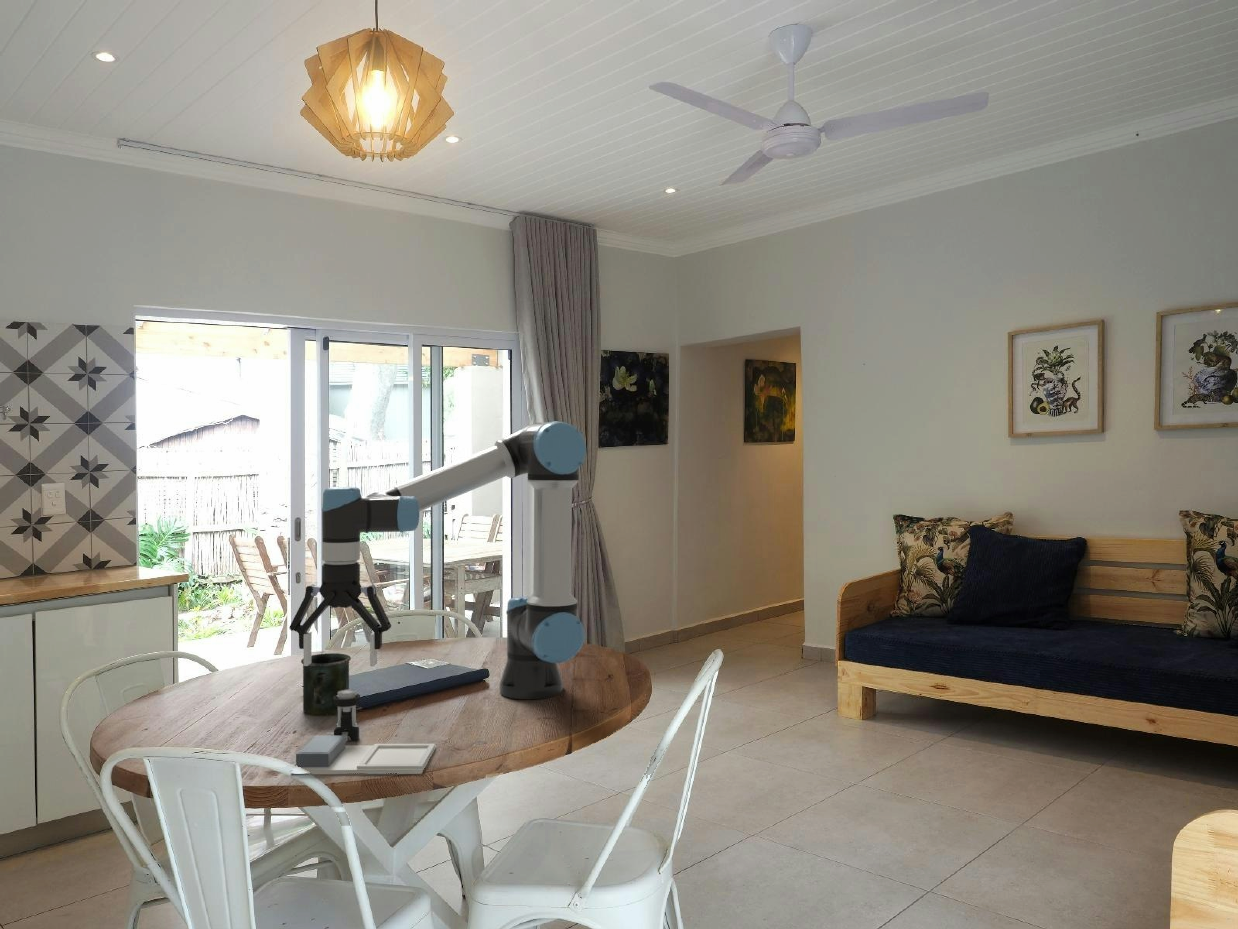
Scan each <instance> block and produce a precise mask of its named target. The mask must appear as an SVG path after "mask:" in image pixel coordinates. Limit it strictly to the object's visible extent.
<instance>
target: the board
mask: <svg viewBox="0 0 1238 929" xmlns="http://www.w3.org/2000/svg"><path fill="white" fill-rule="evenodd" d="M436 747H437V745H436V743H374V744H373V745H345V749H344V750H343V751H342V753H341V754H340V755H339V756H338V757H337V758H336V759H335V760H334V762H333V763H332V764H331V765H330V766H329V767H301V768H303V769H305V770H307V771H309V772H310V773H313V774H312V775H360V774H359V773H365V774H364V775H423V772H424V771H425V769H424V768H426V767H427V765H428V763H429V762H428V761H430V760H431V758H432V755H433V754H434V752H435V750H436ZM430 757H431V758H430ZM429 759H430V760H429ZM423 770H424V771H423ZM347 773H348V774H347ZM349 773H350V774H349ZM351 773H352V774H351ZM353 773H354V774H353ZM355 773H356V774H355ZM357 773H358V774H357ZM366 773H367V774H366ZM386 773H387V774H386ZM388 773H389V774H388ZM390 773H392V774H390ZM393 773H394V774H393ZM395 773H397V774H395Z"/></svg>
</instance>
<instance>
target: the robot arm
mask: <svg viewBox="0 0 1238 929" xmlns="http://www.w3.org/2000/svg"><path fill="white" fill-rule="evenodd" d="M586 445H587V444H586V440H585V438H584V436H583V434H582V433H581V432H580V431H579V429H578V428H577V427H575V426H574V425H572V424H570V423H567V422H565V421H564V422H563V421H557V420H555V421H547V422H546V421H545V422H535V423H533V424H532V423H531V424H530V425H527V426H525V427H523V428H522V429H519V430H517V431H516V432H513V433H512V434H509V435H508V436H505V437H503V438H500V439H497V440H496V441H495V443H494V445H493V446H492V447H489V448H486V449H484V450H482V451H479V452H477V453H474V454H471V455H469V456H467V457H464V458H462V459H459V460H457V461H454V462H452V463H450V464H447V465H445V466H442V467H439V468H437V469H435V470H432V471H430V472H427V473H425V474H422V475H419V476H416V477H414V478H412V479H410V480H407V481H404V482H402V483H399V484H398V485H394V486H393V487H389V488H387V489H385V490H382V491H380V492H373V493H370V494H367V495H366V496H362V493H361V490H360V488H359V487H356V486H355V487H352V486H351V487H350V486H349V487H348V486H336V487H335V486H333V487H331V486H330V487H327V488H325V489H324V491H323V494H322V505H321V506H322V507H321V537H322V538H321V543H322V544H321V560H322V561H323V562H324V563H322V565H321V585H320V586H317V585H316V584H313V583H312V584H309V585H307V586H306V588H305V594H304V597H303V599H302V602H301V603H300V606H299V607H298V610H297V611H296V613H295V616H294V617H293V619H292V621H291V624H290V625H289V630H290V631H292V632H293V631H294V632H297V633H298V648H299V650H303V658H304V661H303V664H302V667H303V666H308V665H309V664H311V656H312V633H313V632H312V631H309V629H310V628H311V627H312V626H313V624H314V623H315V622H316V621H317V620H318V619H319V618H320V617H321V615H322V614H324V611H326V609H327V608H328V607H331V608H332V609H333V608H334V609H335V608H343V609H347V608H350V607H351V608H352V609H353V611H355V612H356V613H357V614H358V616H360V618H361V619H362V620H363V621H364V623H365V624H366V625H367V626H368V627H369V628H370V629H371V631H372V633H370V635H369V639H370V640H369V643H370V644H369V646H370V647H369V648H370V649H369V652H370V653H369V667H375V666H377V664H378V650H380V649H381V648H382V646H383V633H384V632H387V631H389V630H390V629H391V628H392V624H391V621H390V620H389V618H388V616H387V614H386V611H385V610H384V608H383V606H382V603H381V602H380V600H379V598H378V596H377V588H376V585H375V584H371V585H367V586H362V585H361V564H360V563H359V562H358V561H359V560H361V533H365V534H366V533H367V534H368V533H398V532H400V533H404V532H414V531H416V530H417V529H418V526H419V522H420V512H422V511H424V510H427V509H429V508H432V507H434V506H437V505H439V504H442V503H444V502H447V501H449V500H451V499H453V498H454V499H455V498H456V497H459V496H461V495H463V494H465V493H468V492H471V491H474V490H475V489H479V488H480V487H483V486H487V485H488V484H491V483H493V482H495V481H498V480H500V479H504V478H505V477H507V478H510V479H514V478H517V477H518V476H521V475H524V474H525V475H526V474H527V482H528V483H529V484H530V485H531V487H533V492H534V494H533V495H534V496H533V571H532V572H533V574H532V575H533V578H532V579H533V583H532V584H533V585H532V588H533V589H532V590H533V591H532V594H531V595H530V596H521V597H518V596H517V597H512V598H510V599H509V600H508V601H507V606H506V607H507V609H506V611H505V612H506V620H507V621H506V635H507V636H506V638H507V639H506V640H507V641H506V644H507V645H506V647H507V648H506V650H507V653H506V654H507V658H506V662H505V666H504V668H503V672H502V675H501V678H500V682H499V693H500V694H501V695H502V696H504V697H507V698H509V699H514V700H515V699H517V700H541V699H543V700H544V699H549V698H552V697H556V696H559V695H560V694H562V693H563V690H564V686H563V685H564V684H563V683H564V682H563V678H562V675H561V671H560V669H559V666H558V664H561V663H565V662H567V661H569V660H572V659H573V658H574V657H575V656H576V655H577V654H578V653H579V652H580V650H581V648H582V647H583V644H584V642H585V628H584V626H583V623H582V622H581V620H580V619H579V617H578V611H579V610H578V599H577V598H576V597H574V595H573V594H572V529H573V528H572V525H573V523H572V520H573V518H572V517H573V516H572V515H573V513H572V512H573V508H572V506H573V504H572V503H573V499H572V498H573V488H574V487H575V486H576V485H577V484H578V483H579V481H580V480H579V479H580V477H579V476H580V467H582V465H583V463H584V461H585V459H586V455H587V446H586ZM318 593H320V595H321V596H322V598H323V600H322V601H321V602H320V603H319V605H318V606H317V607H316V609H315V610H314V611H313V612H312V613H311V614H310V615H309V616H308V618H307V619H306V620H305V621H304V622H303V624H302V621H303V620H304V617H305V616H306V613H307V612H308V610H309V609H310V606H311V605H312V602H313V600H314V597H315V596H318ZM362 593H363V594H364V596H365V597H366V598H367V600H368V602H369V604H370V606H371V607H372V610H373V612H374V614H375V616H376V618H377V619H378V620H376V618H375V617H374V616H373V615H372V613H371V612H370V611H369V610H368V608H367V607H366V606H365V605H364V603H363V602H362V600H361V599H360V595H361V594H362Z"/></svg>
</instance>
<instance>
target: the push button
mask: <svg viewBox="0 0 1238 929" xmlns="http://www.w3.org/2000/svg"><path fill="white" fill-rule="evenodd" d="M360 698H361V694H359V693H357V691H356V690H355V689H349V690H341V691H339V692H338V695H336V696H334V697H333V700H334V704H335V706H338V713H337V723H336V727H335V728H334V729H333V732H327V733H326V734H327V735H345V743H347V742H353V743H356V742H357V741H358V740H359V739H360V726H359V725H358V723H357V705H359V703H360ZM342 708H343V711H342Z"/></svg>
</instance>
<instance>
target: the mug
mask: <svg viewBox="0 0 1238 929" xmlns="http://www.w3.org/2000/svg"><path fill="white" fill-rule="evenodd" d="M351 659H352V656H350V655H348V654H345V653H338V652H337V653H335V652H334V653H333V652H332V653H331V652H328V653H319V654H311V664H309V665H308V666H303V661H304V657H302V659H301V660H300V663H301V664H302V685H303V686H302V691H303V692H302V702H303V703H302V705H303V706H302V711H303V712H304V714H306V715H308V716H316V717H321V716H323V717H324V716H330V715H335V714H338V706H335V704H334V700H333V697H334V696H336V695H338V692H339V691H341V690H350V661H351ZM342 711H343V708H342Z"/></svg>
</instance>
